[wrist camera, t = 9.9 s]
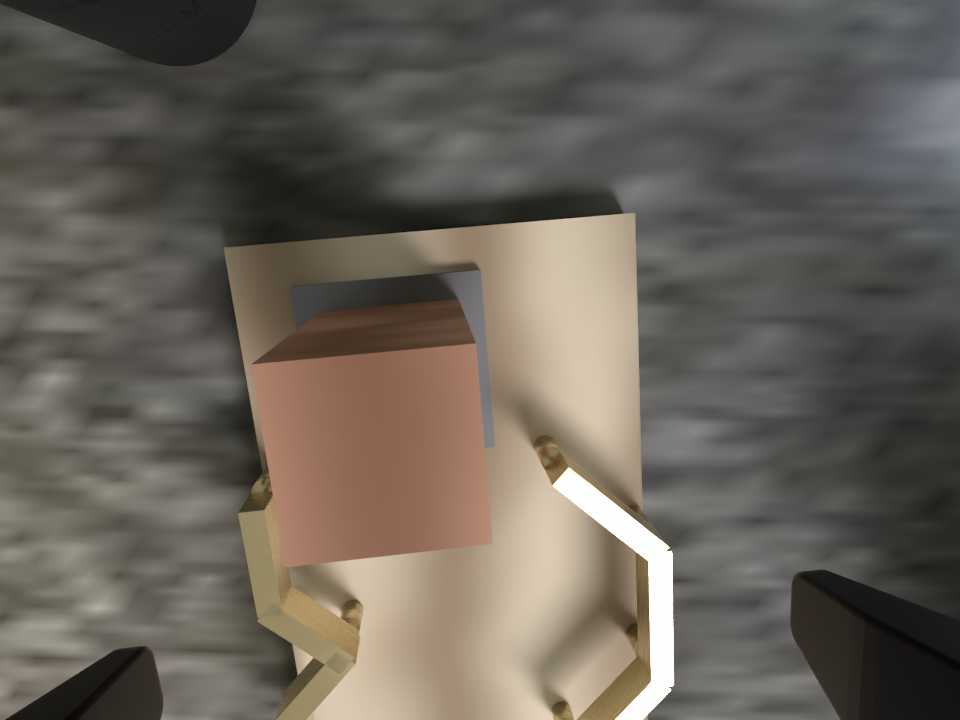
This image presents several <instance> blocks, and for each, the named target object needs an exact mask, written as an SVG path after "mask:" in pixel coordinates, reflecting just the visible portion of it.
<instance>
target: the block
mask: <svg viewBox="0 0 960 720" xmlns="http://www.w3.org/2000/svg"><path fill="white" fill-rule="evenodd" d="M251 368H252V374H253V380H254V386H255V392H256V398H257V404H258V410H259V416H260V422H261V428H262V434H263V440H264V446H265V452H266V458H267V463H268V469H269V475H270V481H271V487H272V493H273V499H274V505H275V511H276V517H277V523H278V529H279V535H280V541H281V547H282V553H283V559H284V565H285V568H286V567H295V566H303V565H312V564H321V563H330V562H338V561H347V560H356V559H365V558H373V557H382V556H391V555H400V554H409V553H417V552H426V551H435V550H444V549H452V548H461V547H470V546H479V545H488V544H493V542H492V530H491V518H490V506H489V494H488V482H487V470H486V457H485V445H484V433H483V421H482V409H481V397H480V384H479V372H478V360H477V348H476V342H475V339H474V337H473V334H472V332H471V329H470V327H469V324H468V322H467V319H466V316H465V314H464V311H463V309H462V306H461V304H460V301H459V299H454V300H443V301H432V302H420V303H409V304H398V305H387V306H375V307H364V308H353V309H342V310H330V311H321V312H320V313H318V314H317V315H316V316H314V317H313V318H312V319H311V320H309V321H308V322H307V323H305V324H304V325H303V326H301V327H300V328H299V329H297V330H296V331H295V332H293V333H292V334H291V335H289V336H288V337H287V338H285V339H284V340H283V341H281V342H280V343H279V344H277V345H276V346H275V347H273V348H272V349H271V350H269V351H268V352H267V353H265V354H264V355H263V356H261V357H260V358H259V359H257V360H256V361H255V362H253V363H252V364H251Z"/></svg>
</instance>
